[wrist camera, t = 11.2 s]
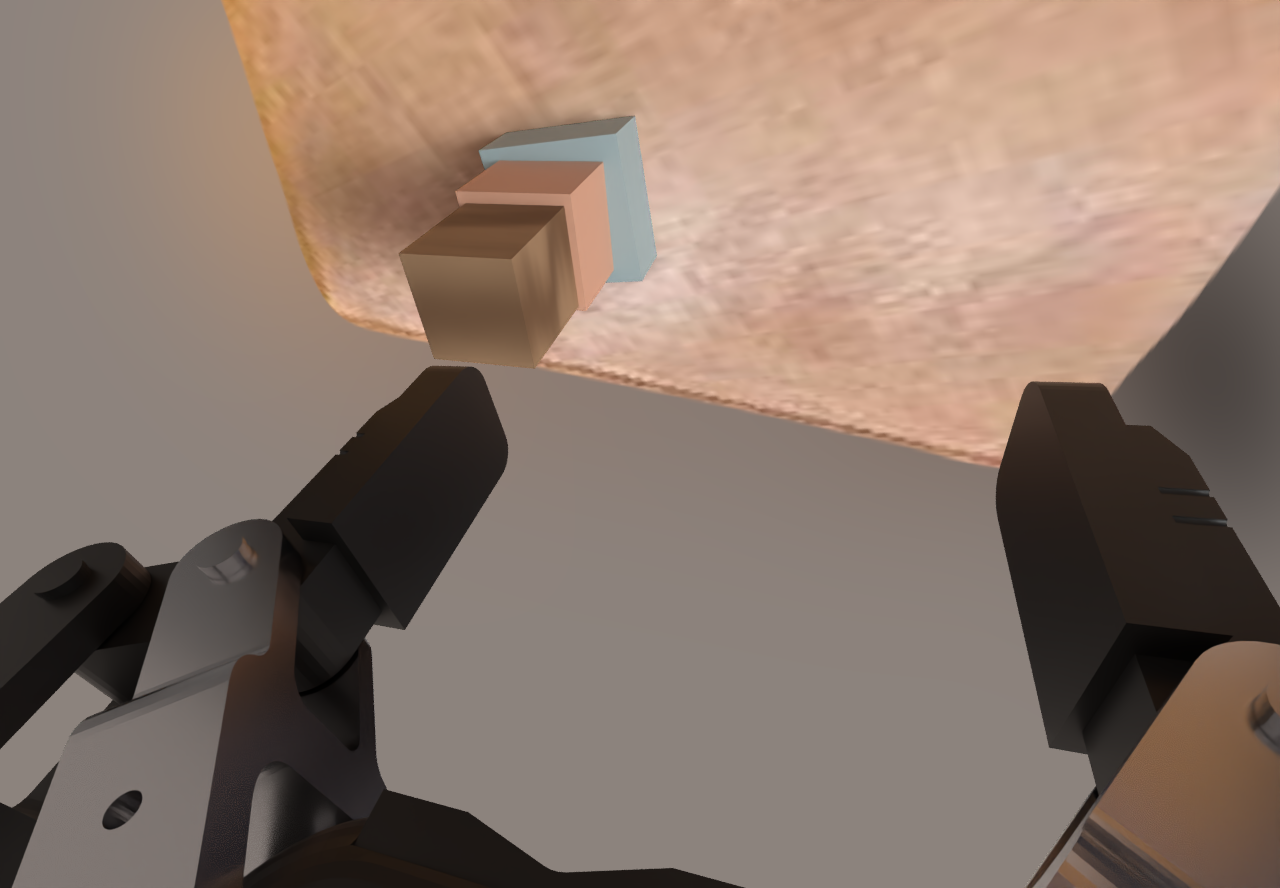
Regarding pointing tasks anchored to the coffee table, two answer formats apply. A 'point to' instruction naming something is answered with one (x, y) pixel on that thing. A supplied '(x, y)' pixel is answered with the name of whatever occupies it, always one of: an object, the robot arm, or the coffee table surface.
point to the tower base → (622, 179)
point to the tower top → (557, 186)
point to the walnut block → (493, 283)
